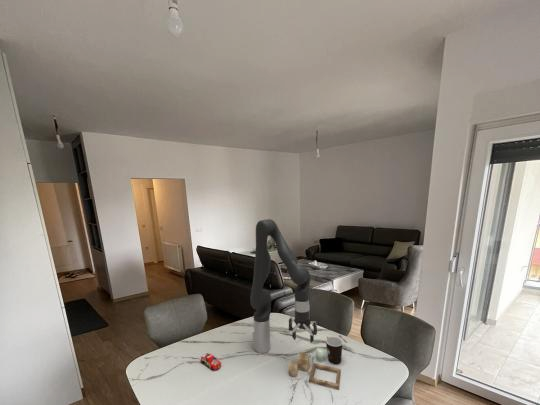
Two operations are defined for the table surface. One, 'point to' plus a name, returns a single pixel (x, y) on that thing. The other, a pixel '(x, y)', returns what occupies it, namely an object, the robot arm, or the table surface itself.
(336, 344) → the coffee mug
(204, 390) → the table surface
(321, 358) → the pale green rounded cylinder
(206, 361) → the race car
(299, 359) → the oak block
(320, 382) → the walnut tray
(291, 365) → the cork cylinder
